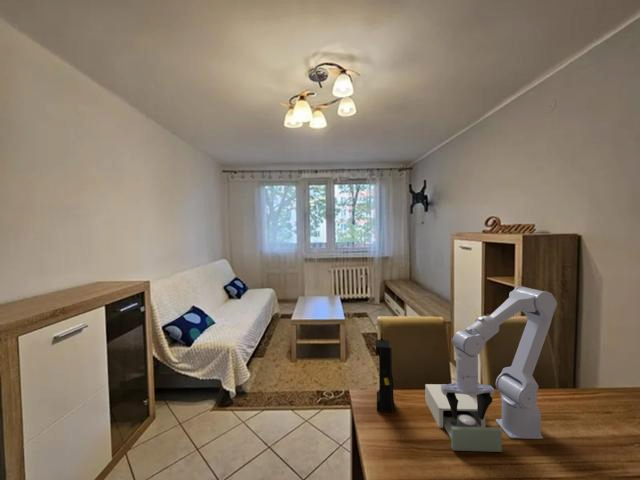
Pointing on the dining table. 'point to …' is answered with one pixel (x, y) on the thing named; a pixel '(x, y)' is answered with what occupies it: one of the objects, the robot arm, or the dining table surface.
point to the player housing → (440, 403)
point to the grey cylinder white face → (466, 421)
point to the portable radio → (385, 376)
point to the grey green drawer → (473, 437)
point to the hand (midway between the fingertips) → (467, 417)
